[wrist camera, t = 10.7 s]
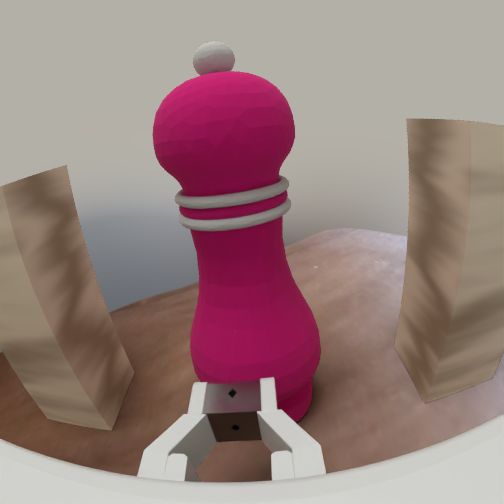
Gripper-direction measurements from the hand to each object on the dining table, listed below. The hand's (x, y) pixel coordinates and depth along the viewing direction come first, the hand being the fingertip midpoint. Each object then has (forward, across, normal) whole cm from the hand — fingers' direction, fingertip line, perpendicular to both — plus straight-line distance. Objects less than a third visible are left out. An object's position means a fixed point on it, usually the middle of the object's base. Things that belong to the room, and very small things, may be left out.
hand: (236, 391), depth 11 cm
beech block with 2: (+5, +14, -7) cm, 16 cm away
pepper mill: (+6, +1, -7) cm, 9 cm away
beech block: (+6, -12, -7) cm, 15 cm away
